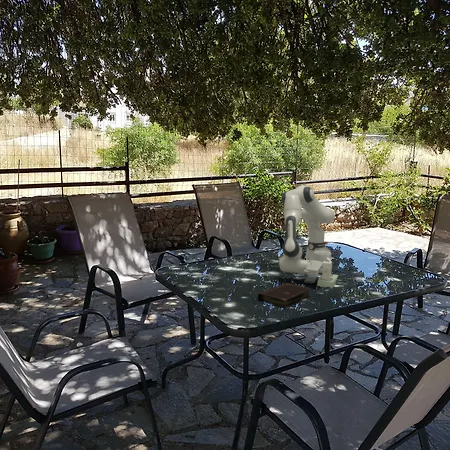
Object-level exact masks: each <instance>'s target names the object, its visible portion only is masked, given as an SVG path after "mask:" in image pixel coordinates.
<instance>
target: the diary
mask: <svg viewBox="0 0 450 450" xmlns="http://www.w3.org/2000/svg"><path fill="white" fill-rule="evenodd" d="M311 289H312V288H310V287H306V286H302V285H298V284H294V283H293V284H292V283H287V282H284V283H282V284H279V285H276V286H273V287H270V288H269V289H266V290H263V291H260V292H257V300H258V301H259V300H261V301H264V302H267V303H270V304H272V305H274V306H277V307H281V308H287V307H290V306H292V305H294V304H297V303H298V302H302V300H304V299H308V298H310V297H312V296H311V295H309V292H310V290H311Z"/></svg>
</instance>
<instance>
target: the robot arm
mask: <svg viewBox="0 0 450 450" xmlns="http://www.w3.org/2000/svg"><path fill="white" fill-rule="evenodd" d="M280 197H281V198H280V199H281V203H282V205H283V216H284V217H283V218H284V222H285V237H284V238H285V239H284V242H283V244H282V252H283V255H282V256H281V257H280V258H279V260H278V267H279V269H280V271H282V272H284V273H290V274H296V273H297V274H299V275H312V276H319V274H322V273H324V272H325V273H327V272H328V269H323V262H321V261H315V260H314V252H315V251H327V252H330V253H331V254H332V252H331V250H330V249H329V248H328V247H326V245H328V241H325V235H326V234H325V230H324V229H323V228H322V227H321V225H320V224H323V225H324V224H332V223H333V221H335V217H336V215H335V212H334V210H333V209H330V208H328V207H327V206H326V205H324V204H323V203H322V202H320V201H319V200H318V198H317V197H316V196H315V191H314V189H313V188H311V187H310V186H307V185H303V184H302V185H299V186H298V187H296V188H294V189H291V190H286V191H284V192H283V193H282V194H281V196H280ZM302 220H303V221H304V222H305V224H306V225H307V226H306V227H307V229H308V240H307V247H306V253H305V256H304V259H302V257H303V248H302V247H301V246H300V245H299V243H298V240H297V226H298V225H299V224H300V223H301V222H302ZM305 258H306V260H305ZM332 259H334V260H335V257H334V256H333V257H332V256H331V260H332ZM332 261H333V260H332Z"/></svg>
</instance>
